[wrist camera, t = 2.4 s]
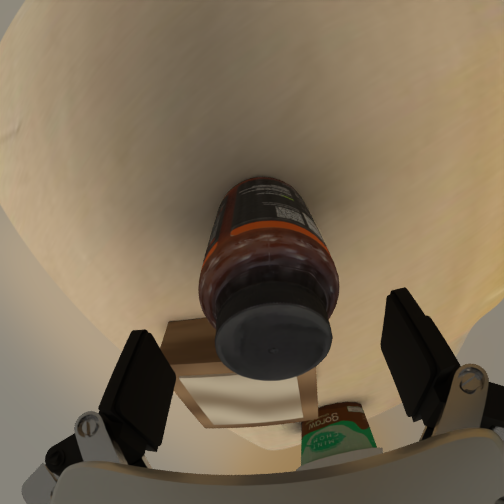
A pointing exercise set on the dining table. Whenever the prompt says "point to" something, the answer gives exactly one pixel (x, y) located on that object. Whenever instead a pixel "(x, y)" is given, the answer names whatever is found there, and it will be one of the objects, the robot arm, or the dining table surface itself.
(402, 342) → the robot arm
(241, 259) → the supplement bottle
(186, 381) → the walnut base
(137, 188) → the dining table surface
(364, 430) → the food container
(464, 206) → the dining table surface
